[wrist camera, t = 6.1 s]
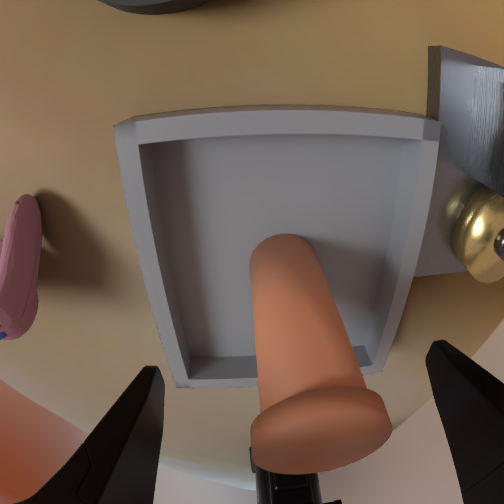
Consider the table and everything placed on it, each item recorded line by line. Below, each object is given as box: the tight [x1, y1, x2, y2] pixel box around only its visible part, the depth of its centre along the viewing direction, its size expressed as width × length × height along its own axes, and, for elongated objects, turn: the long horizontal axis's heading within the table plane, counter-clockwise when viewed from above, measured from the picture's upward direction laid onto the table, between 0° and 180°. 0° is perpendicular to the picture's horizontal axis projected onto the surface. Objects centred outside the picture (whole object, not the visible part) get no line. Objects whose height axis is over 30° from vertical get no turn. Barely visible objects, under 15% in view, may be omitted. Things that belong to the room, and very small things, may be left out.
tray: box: [114, 105, 441, 388], centre depth 14 cm, size 14×12×2 cm
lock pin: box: [249, 234, 392, 474], centre depth 11 cm, size 4×4×9 cm
